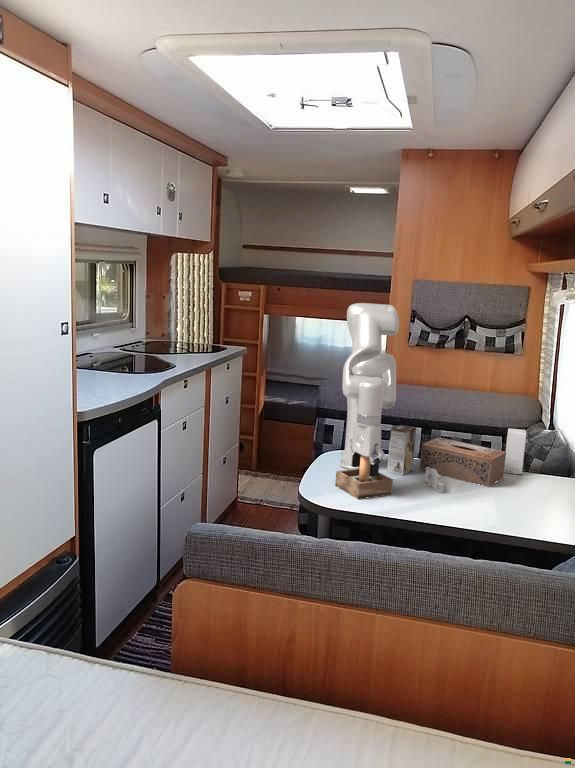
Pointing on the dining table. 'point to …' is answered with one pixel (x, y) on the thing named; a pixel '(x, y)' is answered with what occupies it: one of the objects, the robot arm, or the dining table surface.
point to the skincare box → (515, 451)
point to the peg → (364, 469)
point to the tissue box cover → (463, 461)
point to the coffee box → (401, 449)
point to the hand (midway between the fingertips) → (364, 471)
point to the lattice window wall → (434, 479)
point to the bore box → (363, 484)
